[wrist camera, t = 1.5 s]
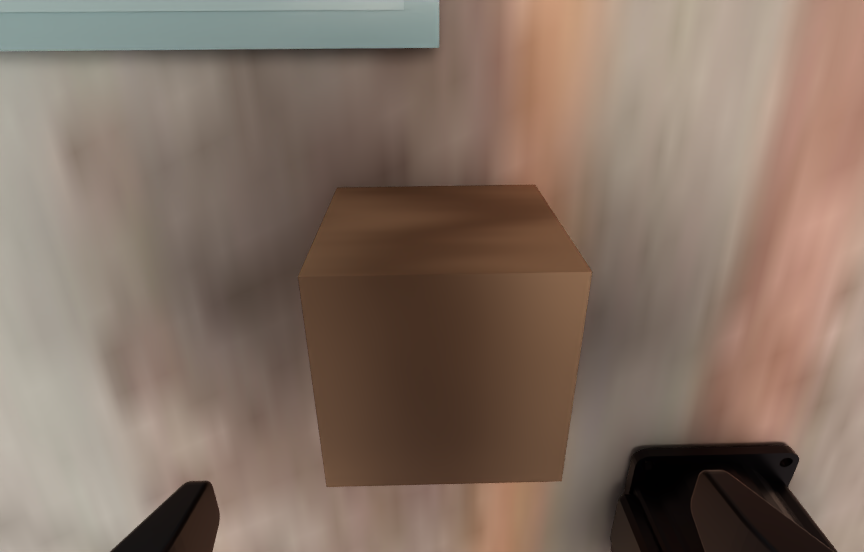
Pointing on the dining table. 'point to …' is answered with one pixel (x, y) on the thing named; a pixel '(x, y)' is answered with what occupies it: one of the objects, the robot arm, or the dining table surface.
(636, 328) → the dining table surface
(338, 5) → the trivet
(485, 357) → the walnut cube
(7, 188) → the dining table surface
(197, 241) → the dining table surface
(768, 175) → the dining table surface
